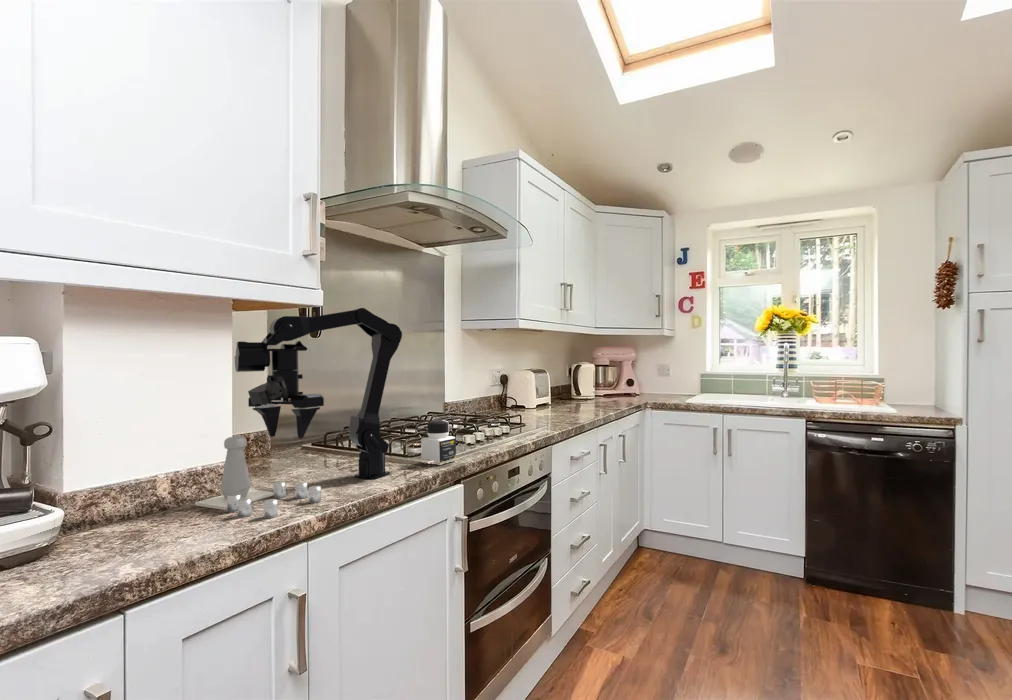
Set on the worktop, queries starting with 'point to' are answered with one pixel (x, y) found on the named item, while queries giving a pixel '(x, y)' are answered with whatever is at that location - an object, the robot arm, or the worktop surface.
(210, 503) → the pad
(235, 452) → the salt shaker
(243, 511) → the spacer field
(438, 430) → the medicine bottle
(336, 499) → the worktop surface
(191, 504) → the worktop surface
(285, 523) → the worktop surface
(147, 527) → the worktop surface
